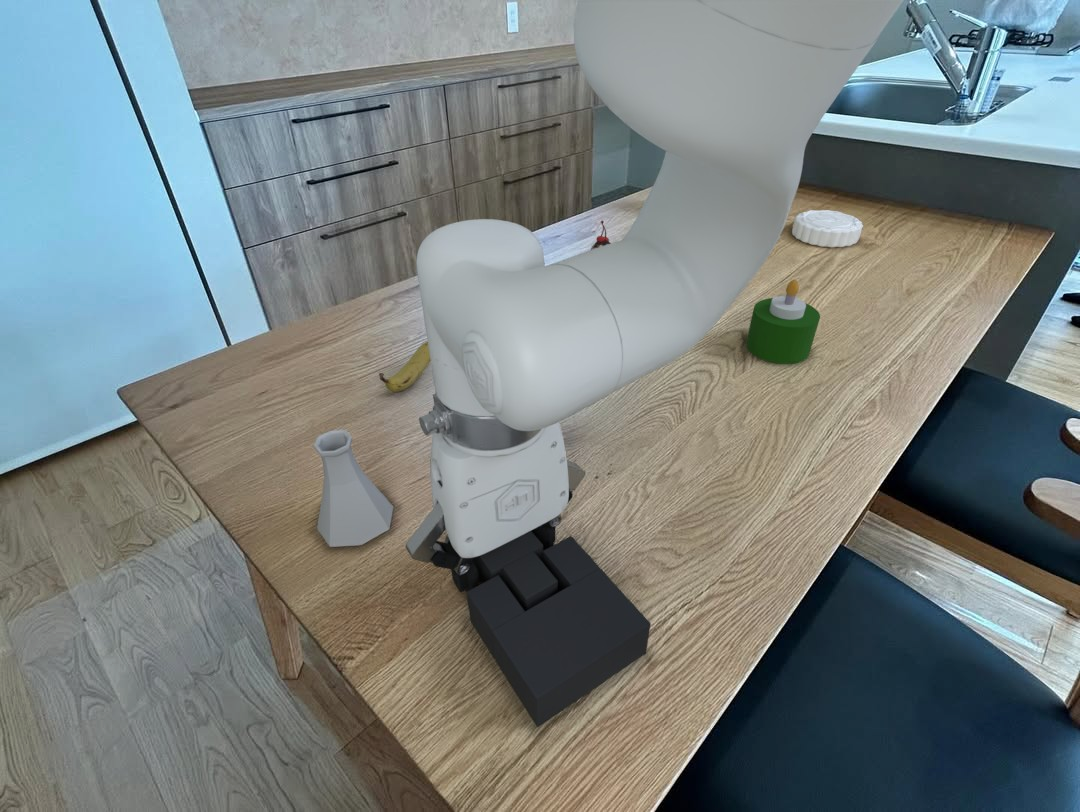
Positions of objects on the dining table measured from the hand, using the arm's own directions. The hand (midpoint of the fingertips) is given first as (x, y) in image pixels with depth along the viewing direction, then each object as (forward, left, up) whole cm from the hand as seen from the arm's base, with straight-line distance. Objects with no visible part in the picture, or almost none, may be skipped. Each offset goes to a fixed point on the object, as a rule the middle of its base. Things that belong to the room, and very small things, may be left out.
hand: (506, 567), depth 51 cm
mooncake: (+33, -91, -1) cm, 97 cm away
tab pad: (-2, 0, 0) cm, 2 cm away
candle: (+11, -50, -1) cm, 51 cm away
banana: (+32, -5, -1) cm, 33 cm away
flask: (+13, +9, -1) cm, 16 cm away
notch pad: (-8, 0, 0) cm, 8 cm away
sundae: (+30, -34, -1) cm, 46 cm away
